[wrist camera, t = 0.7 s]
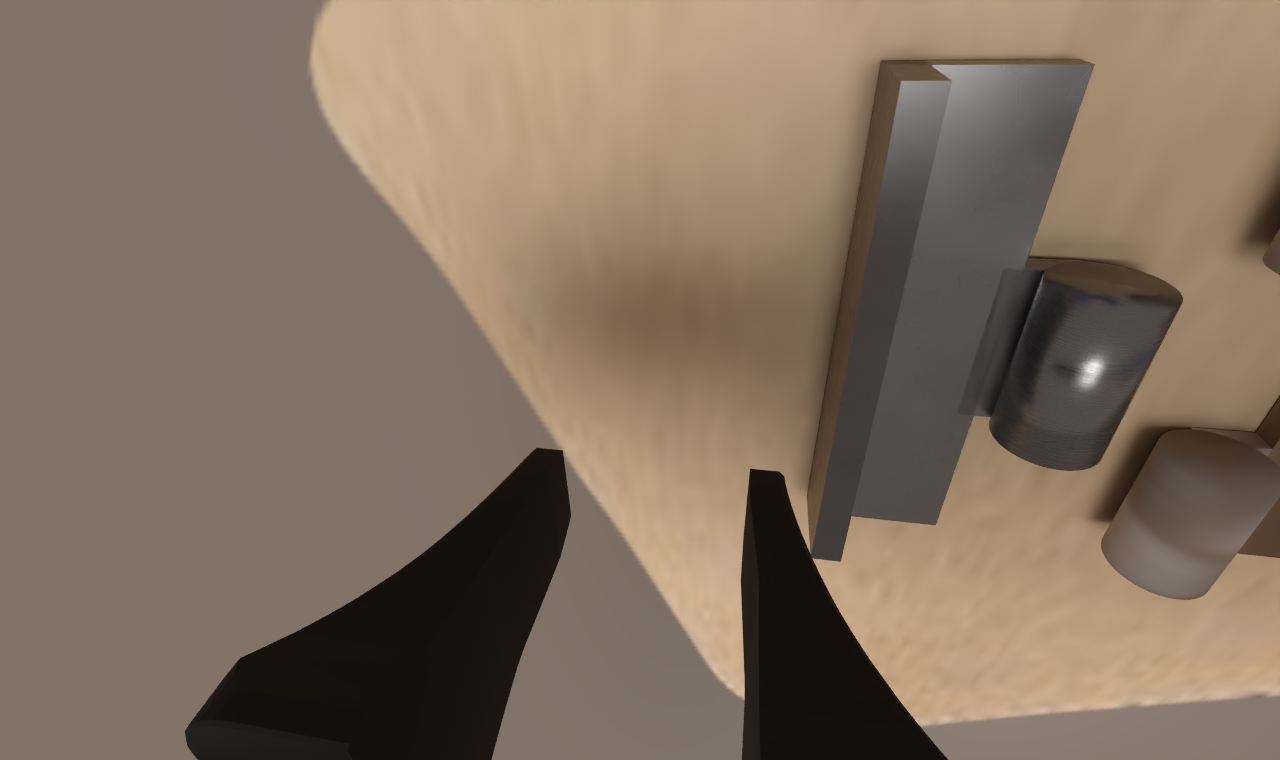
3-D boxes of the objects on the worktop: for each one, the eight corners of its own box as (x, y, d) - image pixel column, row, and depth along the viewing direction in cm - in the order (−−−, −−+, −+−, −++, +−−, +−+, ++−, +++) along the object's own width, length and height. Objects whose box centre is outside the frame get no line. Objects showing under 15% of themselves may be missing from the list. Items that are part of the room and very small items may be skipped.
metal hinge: (1239, 58, 14) (1339, 81, 12) (1027, 519, 23) (1058, 589, 20) (881, 60, 15) (901, 81, 13) (806, 496, 24) (810, 560, 21)
